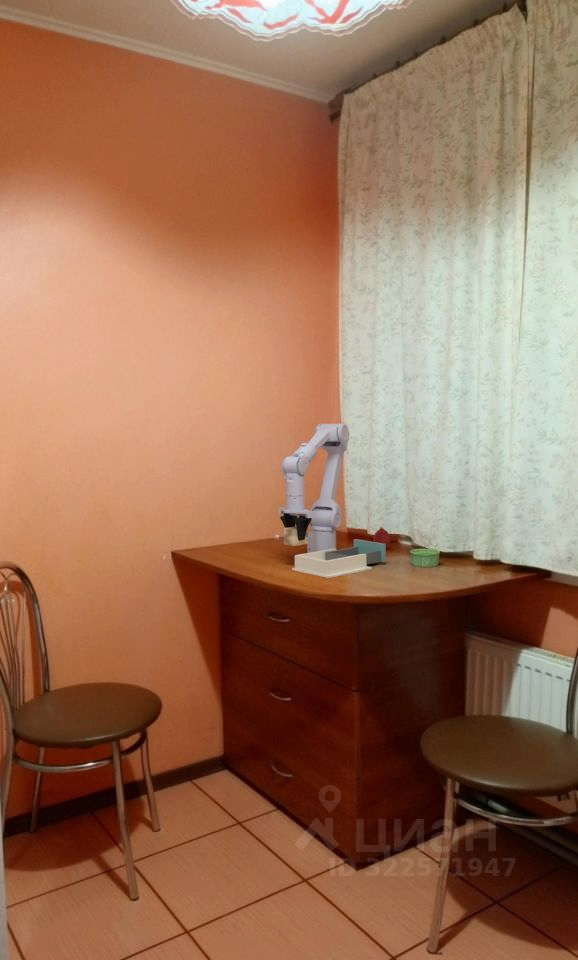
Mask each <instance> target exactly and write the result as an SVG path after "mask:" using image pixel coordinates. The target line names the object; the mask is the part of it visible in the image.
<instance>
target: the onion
mask: <svg viewBox="0 0 578 960" xmlns="http://www.w3.org/2000/svg"><path fill="white" fill-rule="evenodd" d="M372 539H373V542H376V543H382V544H386V548H387V547H388V546H389V545H390V543H391V535H390V533H389V532H388V531H387V530H386V529H385V528H384V527H382V526H379V529H378V530H377V531H376V532H375V533H374V535H373V538H372Z"/></svg>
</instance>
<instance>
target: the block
mask: <svg viewBox="0 0 578 960" xmlns="http://www.w3.org/2000/svg"><path fill="white" fill-rule="evenodd" d="M308 533H309V527H308V528H307V531H306V536H305V540H300V541H299V540H298V536H297V527H296V526H295V527H289V528H285V527H284V528H283V544H284V545H285V546H291V547H294V546H295V547H296V546H302V545H307V544H308Z"/></svg>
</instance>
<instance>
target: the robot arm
mask: <svg viewBox="0 0 578 960" xmlns="http://www.w3.org/2000/svg"><path fill="white" fill-rule="evenodd" d="M349 438H350V431H349V428H348V425H347V424H346V423H344V422H342V423H322V422H321V423H318V425H317V426H316V427H315V431H314V435H313V436H312V437H311V439H310V440H309V441H308V442H302V443H301V444H300V446H299V447H298V448H297V449H296V450H295V452H294V453H292V455H291V456H290V455H289V456H286V457H285V458H283V460H282V465H281V472H282V474H283V479H284V481H285V500H286V502H285V503H286V505H285V506H286V507H283V506H282V507H278V508H277V509H278V510H277V511H278V515H280V516H279V517H280V518H279V519H280V521H281V522H282V524H283V526H284V528H289V527H297V536H298V540H299V541H300V540H305V536H306V531H307V528H308V529H309V526H310V527H311V529H310V530H308V544H306V545H307V546H306V547H307V550H306V551H307V552H306V553H311V552H316V551H322V550H328V549H337V531H336V530H339V527H340V526H341V524H342V507H341V506H340V505H339V504H338V503H337V502H336V498H337V494H338V492H337V491H338V487H339V482H340V478H341V477H340V476H341V472H342V465H343V459H344V453H345V451H347V450H348V444H349ZM320 448H321V449H322V451H325V452H327V457H326V462H325V468H324V473H323V478H322V483H321V490H320V495H319V498H318V499H317V500H316V501H315V502H313V503H312V505H311V509H310V510H309V509H306V502H305V501H306V495H305V489H306V488H305V475H306V474H307V473H308V471H309V467H310V465H311V462H312V461H313V460H314V459H315V458H316V457H317V454H318V452H317V451H318V450H319V449H320ZM281 515H282V516H281Z"/></svg>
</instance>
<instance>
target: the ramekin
mask: <svg viewBox="0 0 578 960" xmlns="http://www.w3.org/2000/svg"><path fill="white" fill-rule="evenodd" d="M409 553H410V562H411V565H412V566H413V567H417V568H435V566H436V567H437V566H438V565H439V563H440V562H439V560H440V554H441V551H440V550H438V549H433V548H415V549H414V548H413V549H411V550H410V551H409Z"/></svg>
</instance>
